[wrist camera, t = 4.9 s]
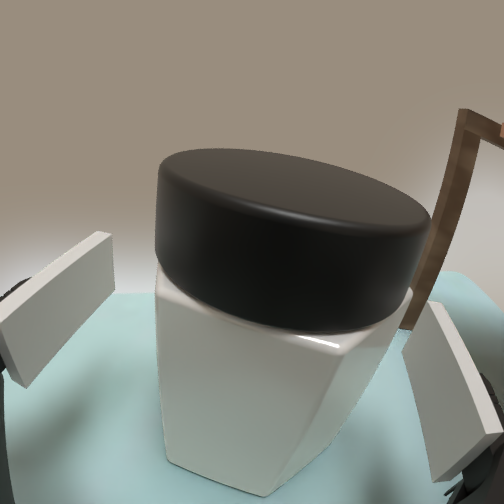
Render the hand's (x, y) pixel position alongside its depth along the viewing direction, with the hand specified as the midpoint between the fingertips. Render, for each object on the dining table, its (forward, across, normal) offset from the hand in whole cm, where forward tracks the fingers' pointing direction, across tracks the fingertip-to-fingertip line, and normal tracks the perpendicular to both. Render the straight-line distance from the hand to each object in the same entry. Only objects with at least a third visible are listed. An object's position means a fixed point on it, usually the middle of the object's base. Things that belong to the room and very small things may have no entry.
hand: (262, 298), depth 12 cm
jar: (-1, 0, -7) cm, 7 cm away
